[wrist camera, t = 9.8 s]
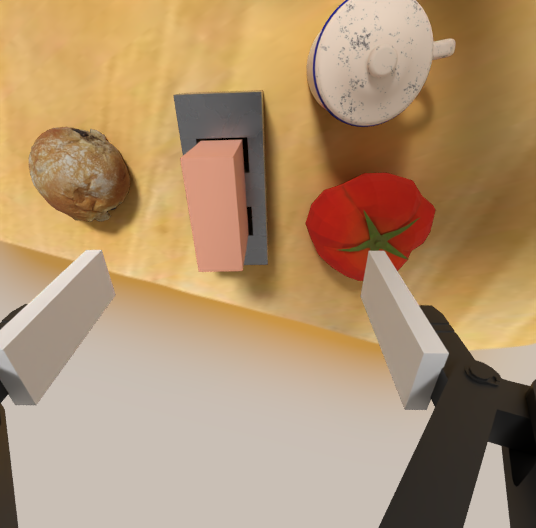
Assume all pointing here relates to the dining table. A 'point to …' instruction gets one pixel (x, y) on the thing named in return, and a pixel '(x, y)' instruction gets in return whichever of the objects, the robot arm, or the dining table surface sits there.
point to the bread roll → (79, 173)
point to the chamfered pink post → (217, 203)
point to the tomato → (369, 221)
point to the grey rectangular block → (232, 126)
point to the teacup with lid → (373, 59)
